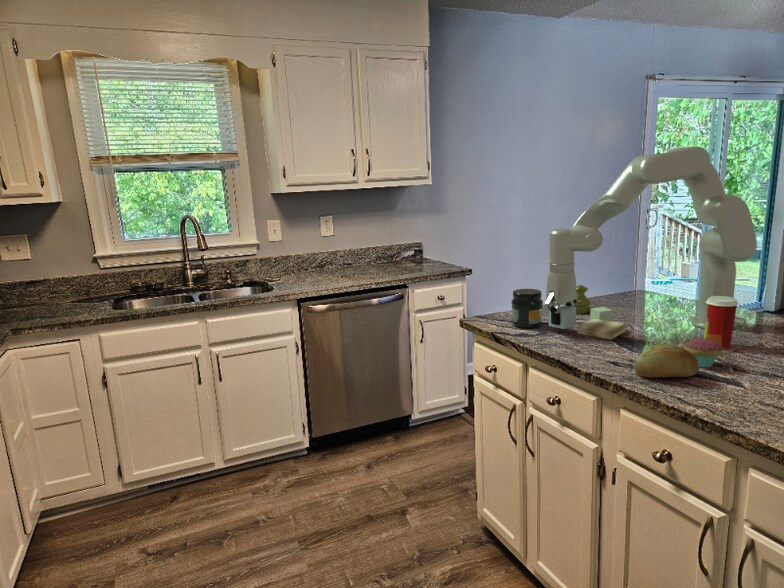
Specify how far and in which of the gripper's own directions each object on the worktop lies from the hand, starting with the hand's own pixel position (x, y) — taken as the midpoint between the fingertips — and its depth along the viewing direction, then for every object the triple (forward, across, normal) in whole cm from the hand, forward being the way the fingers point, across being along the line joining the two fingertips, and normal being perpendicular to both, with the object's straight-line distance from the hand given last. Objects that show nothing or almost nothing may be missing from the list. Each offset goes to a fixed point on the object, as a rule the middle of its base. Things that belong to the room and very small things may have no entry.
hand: (562, 321), depth 167 cm
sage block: (+4, -17, +2) cm, 18 cm away
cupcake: (+4, -1, +42) cm, 43 cm away
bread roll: (+4, +12, +41) cm, 43 cm away
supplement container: (+3, +2, -13) cm, 14 cm away
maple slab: (+4, -8, +8) cm, 13 cm away
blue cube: (+1, 0, 0) cm, 1 cm away
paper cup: (+5, -19, +38) cm, 43 cm away
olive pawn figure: (+4, -25, -11) cm, 28 cm away
